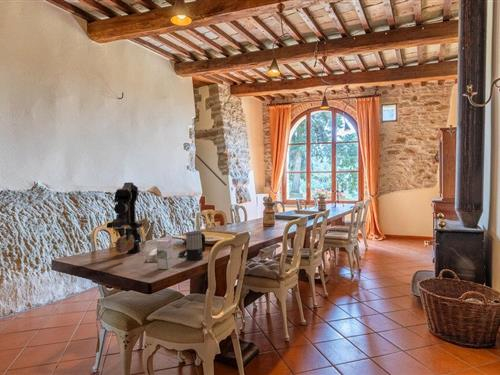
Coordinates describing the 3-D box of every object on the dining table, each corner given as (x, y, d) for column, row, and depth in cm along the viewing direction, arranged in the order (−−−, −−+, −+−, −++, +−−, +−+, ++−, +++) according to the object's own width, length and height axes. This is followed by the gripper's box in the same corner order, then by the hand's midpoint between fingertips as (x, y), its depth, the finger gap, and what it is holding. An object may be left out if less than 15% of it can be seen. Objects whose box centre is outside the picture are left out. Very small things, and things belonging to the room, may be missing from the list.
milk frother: (200, 261, 188) (199, 233, 187) (172, 261, 190) (171, 234, 190) (207, 255, 202) (206, 229, 201) (181, 255, 204) (180, 229, 204)
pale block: (146, 262, 190) (146, 255, 190) (155, 254, 210) (155, 247, 210) (165, 261, 190) (164, 254, 190) (172, 253, 210) (171, 247, 210)
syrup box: (172, 266, 178) (171, 238, 178) (167, 269, 172) (166, 240, 172) (162, 266, 179) (161, 238, 179) (157, 269, 173) (155, 240, 173)
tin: (119, 255, 183) (119, 239, 183) (114, 254, 184) (114, 238, 183) (135, 247, 198) (135, 232, 197) (130, 246, 199) (130, 232, 198)
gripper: (99, 213, 184) (100, 243, 185) (131, 213, 180) (132, 243, 181) (112, 211, 195) (113, 239, 196) (142, 211, 191) (143, 239, 191)
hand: (125, 240), depth 191 cm, fingers closed on tin, 3 cm apart
